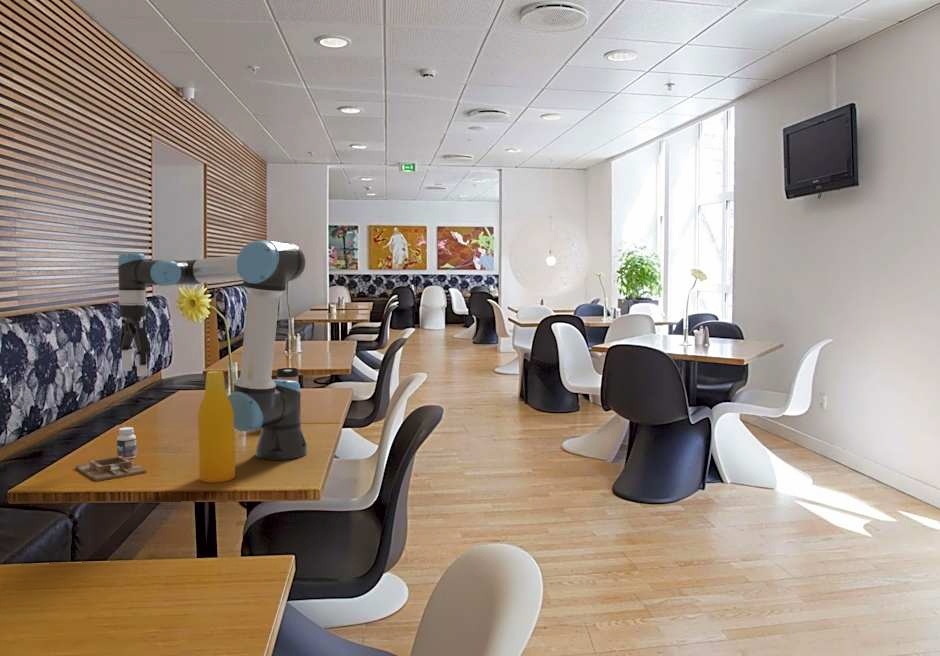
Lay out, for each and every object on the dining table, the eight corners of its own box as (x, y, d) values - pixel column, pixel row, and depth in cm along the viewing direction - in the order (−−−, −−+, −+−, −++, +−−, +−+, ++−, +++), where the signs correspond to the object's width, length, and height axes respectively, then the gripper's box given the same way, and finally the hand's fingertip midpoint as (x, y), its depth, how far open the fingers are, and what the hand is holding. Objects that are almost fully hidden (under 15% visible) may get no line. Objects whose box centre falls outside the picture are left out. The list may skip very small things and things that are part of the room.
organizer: (146, 472, 211) (145, 463, 210) (96, 481, 202) (96, 471, 202) (123, 460, 224) (123, 451, 224) (75, 468, 215) (75, 459, 215)
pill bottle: (114, 457, 227) (113, 428, 227) (132, 454, 231) (131, 425, 230) (121, 460, 224) (120, 431, 223) (139, 457, 227) (138, 428, 227)
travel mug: (288, 420, 283) (287, 367, 281) (303, 422, 279) (302, 368, 277) (273, 424, 276) (272, 369, 275) (288, 426, 272) (287, 371, 271)
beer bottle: (195, 483, 200) (192, 374, 198) (204, 474, 209) (201, 369, 207) (231, 482, 201) (228, 374, 198) (238, 473, 210) (236, 369, 208)
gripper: (160, 305, 224) (162, 376, 226) (131, 302, 242) (133, 367, 244) (134, 306, 219) (135, 379, 221) (106, 302, 237) (108, 369, 239)
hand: (134, 373), depth 232 cm, fingers open, 13 cm apart
